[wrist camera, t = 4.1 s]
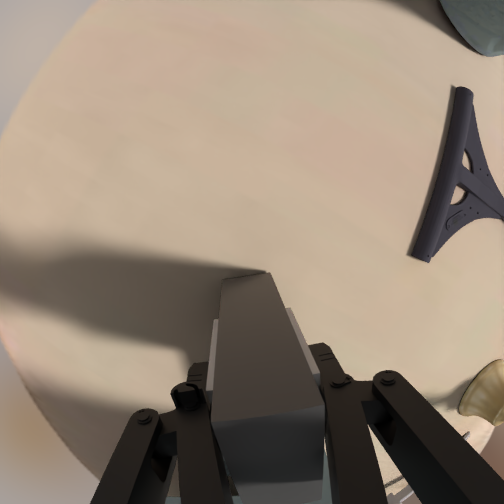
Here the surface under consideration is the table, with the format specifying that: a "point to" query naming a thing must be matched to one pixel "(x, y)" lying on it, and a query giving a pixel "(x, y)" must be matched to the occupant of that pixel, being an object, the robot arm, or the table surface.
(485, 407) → the hand bell
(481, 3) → the grey-green hollow cylinder
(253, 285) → the grey l-bracket
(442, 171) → the dark squeegee
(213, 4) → the table surface
